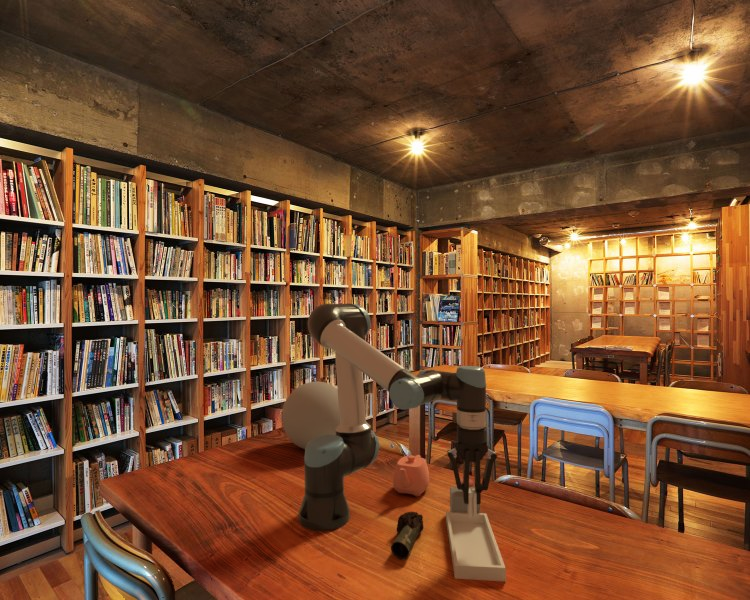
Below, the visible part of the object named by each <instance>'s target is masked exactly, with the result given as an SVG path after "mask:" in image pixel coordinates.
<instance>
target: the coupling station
mask: <svg viewBox="0 0 750 600" xmlns="http://www.w3.org/2000/svg"><path fill="white" fill-rule="evenodd" d="M460 481H461V483H463V477H460ZM469 489H471V492H472V489H475V486H474V481H473V479H471V478H469ZM449 500H450V501H449V511H446V512H445V523H446V531H447V537H448V541H449V542H448V543H449V550H450V555H451V562H452V568H453V575H454V579H458V580H459V579H462V580H472V581H473V580H477V581H490V582H492V581H493V582H506V581H507V579H506V576H507V575H506V574H507V571H506V570H507V569H506V566H505V562H504V559H503V556H502V554H501V551H500V548H499V545H498V543H497V542H498V541H496V537H495V535H494V532H493V529H492V526H491V523H490V520H489V517H488V514H487V513H483V512H481V503H480V504H477V519H476V518H474V517H473V514H472V518H469V516H468V504H465V503H464V500H463V490H461V489H460V490H459V489H458V488H457V486H449Z"/></svg>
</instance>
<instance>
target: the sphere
mask: <svg viewBox="0 0 750 600" xmlns="http://www.w3.org/2000/svg"><path fill="white" fill-rule="evenodd" d="M288 395H289V396H288V397H287V399H286V400H285V401H284V405H283V407H282V412H281V422H282V427H283V430H284V433H285V434H286V436H287V438H288V439H289V440H290V441H291V442H292V443H293V444H294V445H295V446H297V447H299V448H301V449H303V450H305V448H306V445H307V444H308V442H309V441H311V440H312V439H314V438H316V437H319V436H326V435H336V428H337V426H338V425H339V424H340V419H339V404H338V388H337V386H334V385H332V384H330V383H329V382H325V381H310V382H306V383H304V384H301V385H299V386H298V387H297V388H296V387H295V389H294V390H292V392H291V393H290V394H288Z"/></svg>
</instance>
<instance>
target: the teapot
mask: <svg viewBox="0 0 750 600" xmlns="http://www.w3.org/2000/svg"><path fill="white" fill-rule="evenodd" d="M429 484H430V472H429V467H428V464H427V460H426V459H425V458H423V457H422V456H421V455H420V454H416V455H405V456H403V457H401V458H400V459H399V460H398V461H397V462H396V466H395V468H394V473H393V478H392V485H393V486H392V487H393V488H394V490H395V491H396V492H397V493H398V494H408V495H413V496H414V497H420V496H421V495H422V494H423V493H424V492H425V491H426V490H427V488H428V486H429Z"/></svg>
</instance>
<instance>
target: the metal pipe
mask: <svg viewBox="0 0 750 600" xmlns="http://www.w3.org/2000/svg"><path fill="white" fill-rule="evenodd" d="M423 518H424V517H423V514H422V513H421V514H420V513H418V512H417V511H407V512H404V513H403V514H401V515H400V516H399V517H398V519H397V525H396V533H397V536H396V537H395V540H394V541H393V542H392V544H391V546H390V550H391V553H392V555H393V556H394V557H395V558H397V559H399V560H403V561H404V560H407V559H408V557H409V556H410V553H411V552H412V549H413V546H414V544H415V541H416V540H417V536H418V535H419V534H420V533H422V532H423V530H424V520H423Z"/></svg>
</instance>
